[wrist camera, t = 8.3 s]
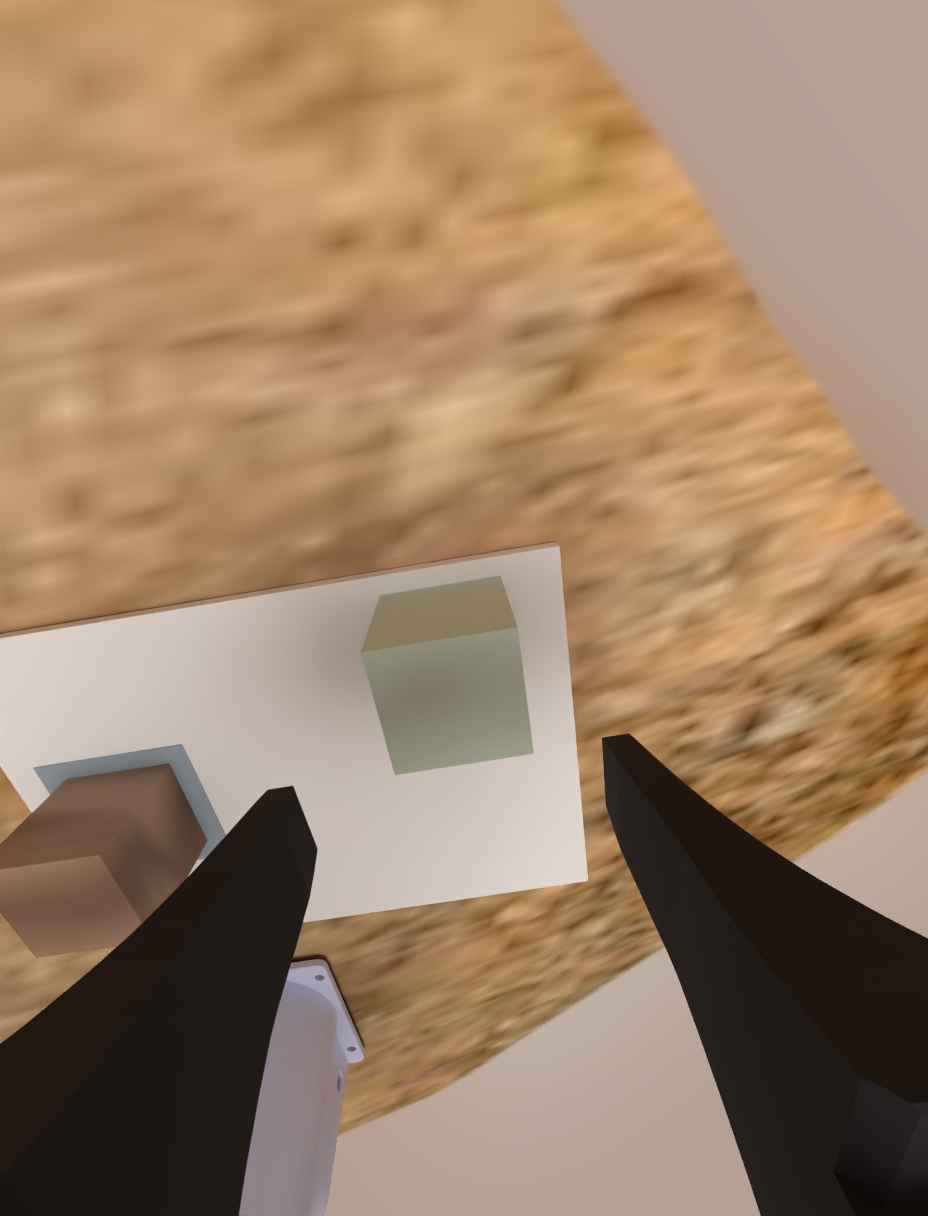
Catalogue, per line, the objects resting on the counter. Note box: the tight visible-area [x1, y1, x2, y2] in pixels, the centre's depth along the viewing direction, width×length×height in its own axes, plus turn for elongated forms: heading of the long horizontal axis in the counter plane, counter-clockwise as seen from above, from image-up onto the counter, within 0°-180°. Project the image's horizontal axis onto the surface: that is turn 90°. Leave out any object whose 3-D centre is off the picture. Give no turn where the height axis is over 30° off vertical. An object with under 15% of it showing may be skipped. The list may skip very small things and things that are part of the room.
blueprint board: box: [0, 542, 588, 923], centre depth 21 cm, size 18×24×1 cm
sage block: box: [361, 576, 534, 775], centre depth 17 cm, size 4×4×4 cm
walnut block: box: [0, 764, 208, 958], centre depth 19 cm, size 4×4×4 cm
